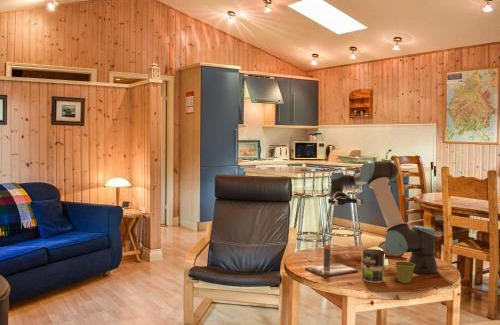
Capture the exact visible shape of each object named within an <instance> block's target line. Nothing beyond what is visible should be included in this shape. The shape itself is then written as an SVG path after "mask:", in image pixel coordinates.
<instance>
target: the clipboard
mask: <svg viewBox="0 0 500 325" xmlns="http://www.w3.org/2000/svg"><path fill="white" fill-rule="evenodd" d="M304 270H306V271H308V272H310V273H312V274H314V275H317V276H320V277H323V278H328V277H329V278H330V277H335V276H341V275H343V276H344V275H347V274H355V273H359V269H357V268H353V267H351V266H347V265H345V264H342V263H339V262H336V263H335V262H333V263H330V270H329V271H325V270H324V264H322V265H313V266H308V267H304Z"/></svg>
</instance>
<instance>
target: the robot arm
mask: <svg viewBox="0 0 500 325" xmlns="http://www.w3.org/2000/svg"><path fill="white" fill-rule="evenodd" d="M398 174H399V168H398V165H396V163H394V162H393V161H390V160H375V161H374V160H368V161H365V162H363V163H362V165H361V167H360V170H359V172H358V173H354V174H353V173H352V174H344V172H343V171H332V172H331V175H330V192H329V194H328V195H329V196H328V197H329V198H328V199H327V200H328V203H327V204H331V205H335V206H338V205H339V206H344V205H345V204H351V203H352V204H356V205H358V206H359V207H360V206H362V204H363V199H362V198H357V197H353V196H352V197H350V196H348V195H347V194H346V193H344V187H360V186H363V185H365V184H367V186H368V188H369V189H372V191H373V194H374V195H375V198H376V201H377V204H378V205H379V209H380V211H381V214H382V217H383V219H384V222H385V224H386V227H387V229H386V232H385V233H386V234H385V236H384V238H385V239H384V240H385V242H386V245H387V247H388V248H389V250H391V251H392V252H394V253H404V254H405V253H411V255H410V258H409V261H408V262H411V263H414V264H415V267H414V269H413V273H417V274H423V275H432V274H434V275H435V274H437V273H439V267H438V265H437V264H438V263H437V261H436V260H437V259H436V240H437V239H436V237H437V235H436V230H435V229H434V228H433V227H428V226H423V225H412V227H411V228H410V226H409V224H408V223H407V222H405V221H404V220H403V217H402V214H401V212H400V209H399V206H398V205H397V202H396V200H395V198H394V195H393V192H392V191H391V188H390V186H389V182H391V181H392V182H393V181H394V180H395V179H397V177H398Z"/></svg>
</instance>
